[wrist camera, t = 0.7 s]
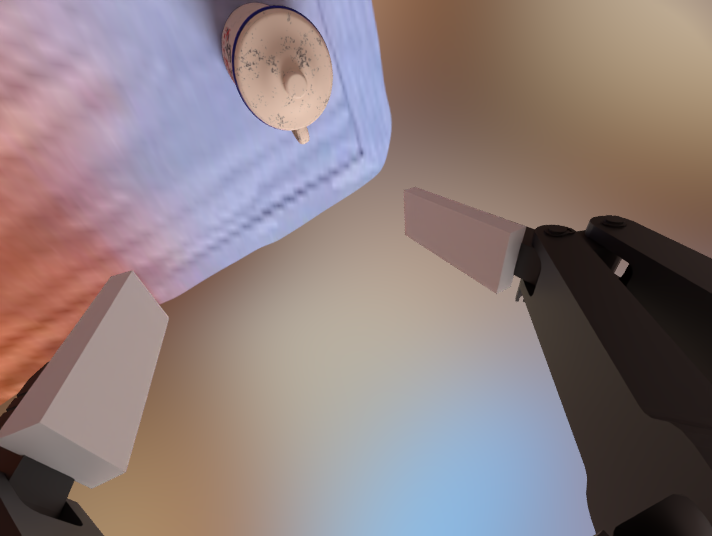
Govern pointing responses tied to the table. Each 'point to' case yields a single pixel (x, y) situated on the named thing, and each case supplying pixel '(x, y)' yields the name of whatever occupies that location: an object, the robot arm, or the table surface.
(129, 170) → the table surface
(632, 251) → the robot arm
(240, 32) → the teacup with lid
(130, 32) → the table surface
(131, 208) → the table surface
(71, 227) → the table surface
